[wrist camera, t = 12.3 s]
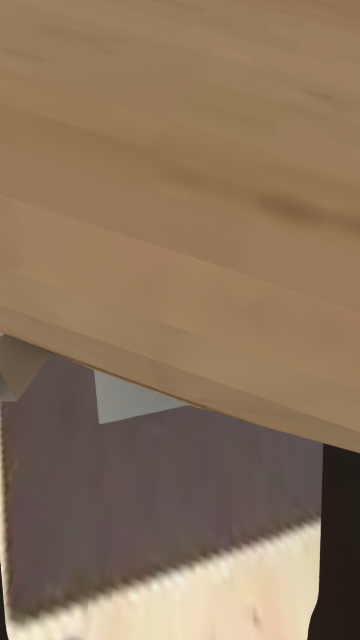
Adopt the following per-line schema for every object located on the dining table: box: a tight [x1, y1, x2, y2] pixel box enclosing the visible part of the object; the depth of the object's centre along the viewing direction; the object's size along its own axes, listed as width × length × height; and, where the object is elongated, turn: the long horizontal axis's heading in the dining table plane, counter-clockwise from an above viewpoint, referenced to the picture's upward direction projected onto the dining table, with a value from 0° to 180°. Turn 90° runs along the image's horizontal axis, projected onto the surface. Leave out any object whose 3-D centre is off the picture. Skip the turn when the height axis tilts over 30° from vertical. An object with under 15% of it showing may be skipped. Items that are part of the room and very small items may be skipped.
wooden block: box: [0, 0, 360, 453], centre depth 12 cm, size 10×10×20 cm
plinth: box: [94, 370, 188, 424], centre depth 25 cm, size 16×13×4 cm
